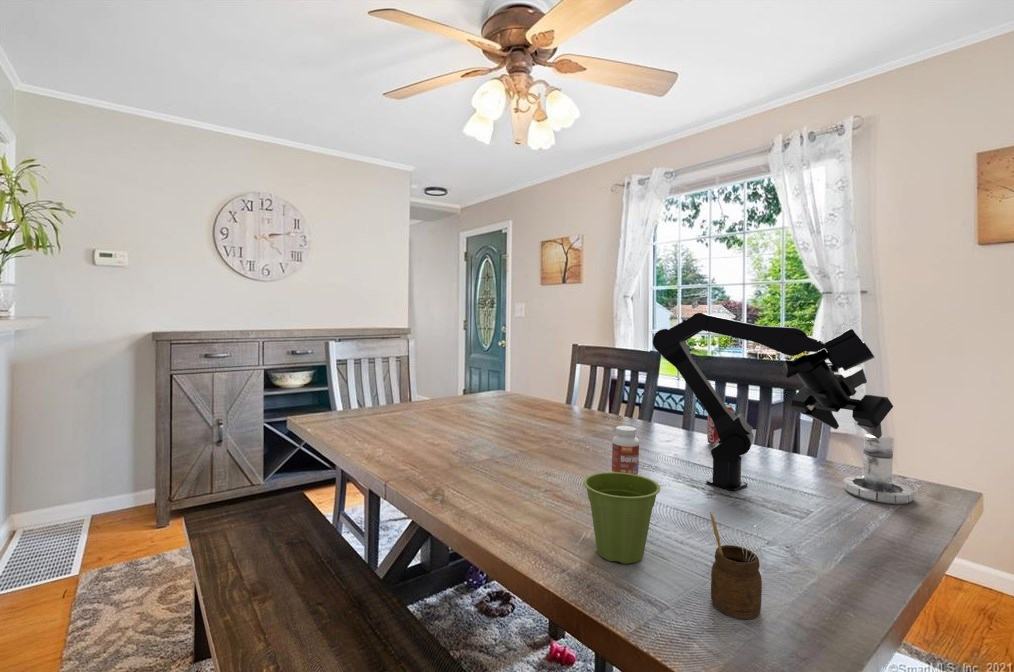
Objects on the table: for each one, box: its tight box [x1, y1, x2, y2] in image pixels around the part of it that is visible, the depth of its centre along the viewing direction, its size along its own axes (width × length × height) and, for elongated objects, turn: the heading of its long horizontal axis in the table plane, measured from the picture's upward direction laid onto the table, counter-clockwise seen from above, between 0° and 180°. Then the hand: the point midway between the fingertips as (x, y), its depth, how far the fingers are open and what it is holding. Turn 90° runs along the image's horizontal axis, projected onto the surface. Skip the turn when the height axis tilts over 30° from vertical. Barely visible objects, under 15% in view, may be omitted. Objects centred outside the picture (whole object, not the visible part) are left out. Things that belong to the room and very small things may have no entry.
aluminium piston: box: [861, 433, 895, 493], centre depth 102 cm, size 5×5×12 cm
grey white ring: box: [842, 475, 914, 506], centre depth 102 cm, size 12×12×2 cm
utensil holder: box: [709, 511, 764, 620], centre depth 62 cm, size 6×6×12 cm
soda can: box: [706, 403, 735, 447], centre depth 139 cm, size 7×7×12 cm
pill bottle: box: [611, 425, 640, 475], centre depth 113 cm, size 6×6×11 cm
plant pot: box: [582, 471, 661, 565], centre depth 76 cm, size 12×12×11 cm
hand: (857, 432), depth 101 cm, fingers open, 9 cm apart
